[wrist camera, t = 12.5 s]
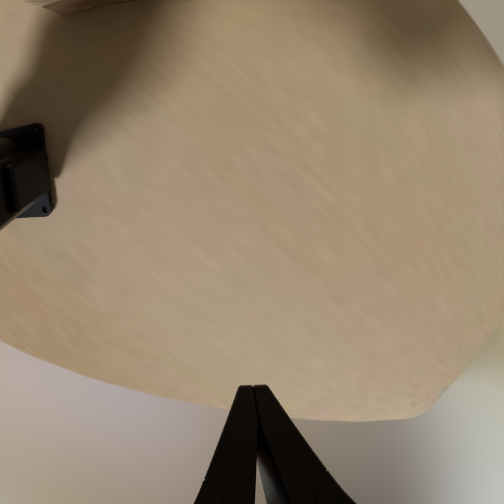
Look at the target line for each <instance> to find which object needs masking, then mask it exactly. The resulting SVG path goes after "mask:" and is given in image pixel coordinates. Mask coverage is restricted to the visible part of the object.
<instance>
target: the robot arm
mask: <svg viewBox="0 0 504 504" xmlns="http://www.w3.org/2000/svg"><path fill="white" fill-rule="evenodd" d="M35 128H37V129H38V133H36V132H35ZM50 188H51V186H50V179H49V171H48V162H47V154H46V152H45V141H44V128H43V125H42V124H41V123H34V124H30V125H25V126H21V127H16V128H12V129H8V130H4V131H0V230H2V229H3V228H4V227H5V226H6V225H8V224H9V223H10V222H11V221H13V220H14V219H15V218H27V217H46V216H49V215H50V214H51V213H52V211H53V205H52V199H51V193H50ZM45 207H47V209H48V211H46V210H45ZM257 462H258V467H259V471H260V476H261V480H262V485H263V489H264V493H265V498H266V502H267V504H356V503H355V502H354V501H353V500H352V499H351V498H350V496H348V494H347V493H346V492H345V491H344V490H343V489H342V488H341V487H340V485H339V484H338V483H337V482H336V480H335V479H334V478H333V477H332V475H331V474H330V473H329V471H326V470H327V469H326V467H325V466H324V465H323V463H322V462H321V461H320V459H319V458H318V457H317V455H316V454H315V453H314V451H313V450H312V449H311V447H310V446H309V444H308V443H307V442H306V440H305V439H304V437H303V436H302V435H301V433H300V432H299V430H298V429H297V428H296V426H295V425H294V423H293V422H292V420H291V419H290V417H289V416H288V415H287V413H286V412H285V410H284V409H283V407H282V406H281V404H280V403H279V401H278V400H277V399H276V397H275V396H274V394H273V393H272V391H271V390H270V388H269V387H268V386H267V385H254V386H252V385H240V386H239V387H238V390H237V393H236V395H235V398H234V401H233V404H232V406H231V409H230V412H229V415H228V418H227V421H226V423H225V426H224V428H223V431H222V434H221V436H220V439H219V442H218V444H217V447H216V450H215V452H214V455H213V458H212V460H211V463H210V465H209V468H208V471H207V473H206V476H205V480H204V481H203V483H202V486H201V488H200V491H199V493H198V495H197V498H196V500H195V502H194V504H255V485H256V465H257V464H256V463H257Z"/></svg>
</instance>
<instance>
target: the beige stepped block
mask: <svg viewBox="0 0 504 504" xmlns="http://www.w3.org/2000/svg"><path fill="white" fill-rule="evenodd" d="M22 1H25V2H28V3H31V4H34V5H37V6H40V7H43V8H46V9H49V10H52V11H54V12H57V13H60V14H62V15H66V14H69V13H73V12H77V11H81V10H85V9H89V8H93V7H98V6H102V5H107V4H112V3H118V2H124V1H130V0H22Z"/></svg>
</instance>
